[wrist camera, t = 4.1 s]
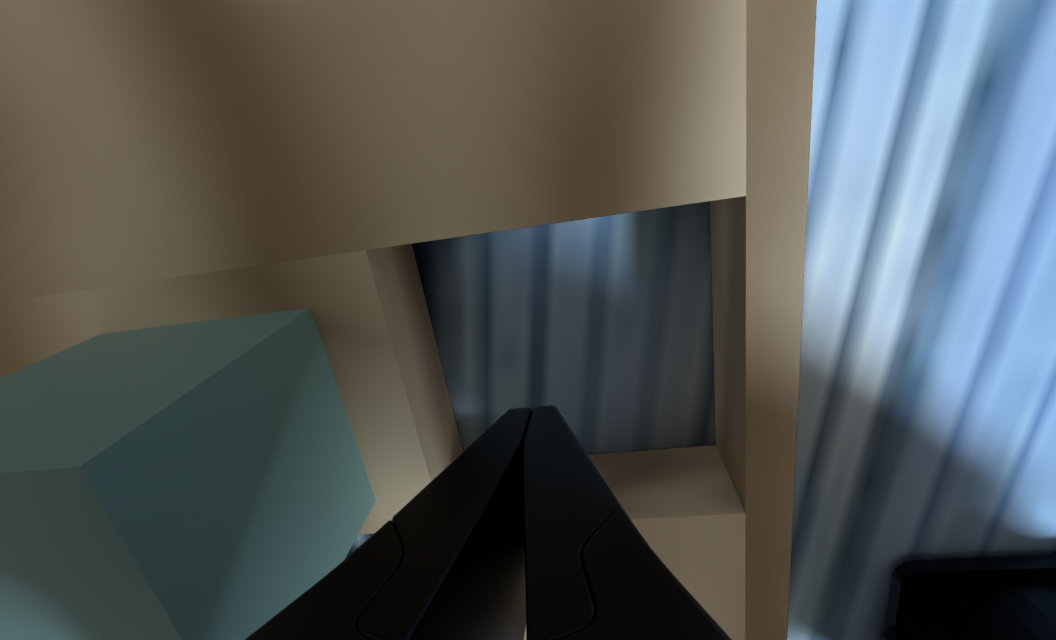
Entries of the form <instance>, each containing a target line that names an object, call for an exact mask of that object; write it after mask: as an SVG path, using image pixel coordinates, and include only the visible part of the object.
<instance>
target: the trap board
mask: <svg viewBox="0 0 1056 640" xmlns="http://www.w3.org/2000/svg"><path fill="white" fill-rule="evenodd" d="M816 5H817V0H0V378H2V377H4V376H7V375H9V374H11V373H13V372H16V371H18V370H20V369H22V368H25V367H27V366H29V365H32V364H34V363H36V362H38V361H41V360H43V359H45V358H47V357H50V356H52V355H54V354H56V353H59V352H61V351H63V350H66V349H68V348H70V347H72V346H75V345H77V344H79V343H81V342H84V341H86V340H88V339H90V338H93V337H95V336H97V335H99V334H106V333H113V332H121V331H129V330H137V329H145V328H153V327H161V326H169V325H177V324H184V323H192V322H200V321H208V320H216V319H224V318H232V317H240V316H248V315H255V314H263V313H271V312H279V311H287V310H295V309H303V308H311V311H312V314H313V317H314V320H315V323H316V326H317V329H318V332H319V335H320V338H321V341H322V344H323V347H324V350H325V353H326V355H327V358H328V361H329V364H330V367H331V370H332V373H333V376H334V379H335V382H336V385H337V388H338V391H339V394H340V397H341V400H342V403H343V405H344V408H345V411H346V414H347V417H348V420H349V423H350V426H351V429H352V432H353V435H354V438H355V441H356V444H357V447H358V450H359V453H360V455H361V458H362V461H363V464H364V467H365V470H366V473H367V476H368V479H369V482H370V485H371V488H372V491H373V494H374V497H375V500H376V502H375V503H374V505H373V507H372V509H371V511H370V513H369V515H368V517H367V518H366V520H365V522H364V524H363V526H362V528H361V530H360V532H359V534H370V533H376V532H377V531H378V530H379V529H380V528H381V527H382V526H383V525H384V524H385V523H386V522H388V521H389V520H391V521H392V517H393V516H394V515H395V514H396V513H397V512H399V511H400V510H401V509H402V508H403V507H404V506H405V505H406V504H407V503H408V502H409V501H411V500H412V499H413V498H414V497H415V496H416V495H417V494H418V493H419V492H420V491H421V490H422V489H424V488H425V487H426V486H427V485H428V484H429V483H430V482H431V481H432V480H433V479H434V478H435V477H437V476H438V475H439V474H440V473H441V472H442V471H443V470H444V469H445V468H446V467H447V466H448V465H450V464H451V463H452V462H453V461H454V460H455V459H456V458H457V457H458V456H459V455H460V454H461V453H463V449H462V445H461V441H460V437H459V433H458V429H457V425H456V421H455V417H454V412H453V408H452V404H451V400H450V396H449V392H448V388H447V384H446V380H445V376H444V372H443V368H442V364H441V360H440V356H439V352H438V348H437V344H436V340H435V336H434V332H433V328H432V324H431V320H430V316H429V312H428V308H427V304H426V300H425V296H424V291H423V287H422V283H421V279H420V275H419V271H418V267H417V263H416V259H415V255H414V251H413V247H412V243H419V242H426V241H433V240H440V239H447V238H454V237H461V236H468V235H475V234H482V233H489V232H496V231H503V230H511V229H518V228H525V227H532V226H539V225H546V224H553V223H560V222H567V221H574V220H581V219H588V218H595V217H602V216H609V215H616V214H623V213H630V212H637V211H644V210H651V209H658V208H665V207H672V206H679V205H686V204H693V203H700V202H707V201H710V227H711V268H712V309H713V351H714V392H715V433H716V445H710V446H697V447H683V448H670V449H656V450H642V451H629V452H615V453H601V454H588V456H589V458H590V459H591V461H592V462H593V464H594V465H595V467H596V468H597V470H598V471H599V473H600V474H601V476H602V477H603V479H604V480H605V482H606V483H607V485H608V486H609V488H610V490H611V491H612V493H613V494H614V496H615V497H616V499H617V500H618V502H619V503H620V505H621V507H622V508H623V509H624V510H625V512H626V513H627V515H628V516H629V518H630V519H631V521H632V522H633V524H634V525H635V527H636V528H637V529H638V531H639V532H640V534H641V535H642V536H643V538H644V539H645V541H646V542H647V543H648V545H649V546H650V547H651V549H652V550H653V551H654V552H655V553H656V555H657V556H658V557H659V558H660V559H661V561H662V562H663V563H664V564H665V565H666V566H667V568H668V569H669V570H670V571H671V572H672V574H673V575H674V576H675V577H676V578H677V579H678V580H679V581H680V583H681V584H682V585H683V586H684V587H685V588H686V589H687V590H688V591H689V593H690V594H691V595H692V596H693V597H694V598H695V599H696V600H697V601H698V602H699V604H700V605H701V606H702V607H703V608H704V609H705V610H706V611H707V612H708V614H709V615H710V616H711V617H712V618H713V619H714V620H715V621H716V622H717V624H718V625H719V626H720V627H721V628H722V629H723V630H724V631H725V632H726V634H727V635H728V636H729V637H730V638H731V639H732V640H787V630H788V609H789V587H790V566H791V544H792V522H793V501H794V479H795V458H796V436H797V415H798V393H799V371H800V350H801V328H802V307H803V285H804V263H805V242H806V220H807V199H808V177H809V156H810V134H811V112H812V91H813V69H814V48H815V26H816ZM524 640H526V628H525V635H524Z"/></svg>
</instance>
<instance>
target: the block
mask: <svg viewBox="0 0 1056 640" xmlns="http://www.w3.org/2000/svg"><path fill="white" fill-rule="evenodd" d="M375 502H376V500H375V497H374V494H373V491H372V488H371V485H370V482H369V479H368V476H367V473H366V470H365V467H364V464H363V461H362V458H361V455H360V453H359V450H358V447H357V444H356V441H355V438H354V435H353V432H352V429H351V426H350V423H349V420H348V417H347V414H346V411H345V408H344V405H343V403H342V400H341V397H340V394H339V391H338V388H337V385H336V382H335V379H334V376H333V373H332V370H331V367H330V364H329V361H328V358H327V355H326V353H325V350H324V347H323V344H322V341H321V338H320V335H319V332H318V329H317V326H316V323H315V320H314V317H313V314H312V311H311V308H303V309H295V310H287V311H279V312H271V313H263V314H255V315H248V316H240V317H232V318H224V319H216V320H208V321H200V322H192V323H184V324H177V325H169V326H161V327H153V328H145V329H137V330H129V331H121V332H113V333H106V334H99V335H97V336H95V337H93V338H90V339H88V340H86V341H84V342H81V343H79V344H77V345H75V346H72V347H70V348H68V349H66V350H63V351H61V352H59V353H56V354H54V355H52V356H50V357H47V358H45V359H43V360H41V361H38V362H36V363H34V364H32V365H29V366H27V367H25V368H22V369H20V370H18V371H16V372H13V373H11V374H9V375H7V376H4V377H2V378H0V640H245V639H246V638H247V637H249V636H250V635H251V634H252V633H254V632H255V631H256V630H257V629H259V628H260V627H261V626H262V625H264V624H265V623H266V622H268V621H269V620H270V619H271V618H273V617H274V616H275V615H276V614H278V613H279V612H280V611H282V610H283V609H284V608H285V607H287V606H288V605H289V604H290V603H292V602H293V601H294V600H296V599H297V598H298V597H299V596H301V595H302V594H303V593H304V592H306V591H307V590H308V589H310V588H311V587H312V586H313V585H315V584H316V583H317V582H318V581H319V580H321V579H322V578H323V577H324V576H326V575H327V574H328V573H329V572H330V571H332V570H333V569H334V568H335V567H337V566H338V565H339V564H340V563H341V562H343V561H344V560H345V558H346V556H347V554H348V552H349V550H350V549H351V547H352V545H353V543H354V541H355V539H356V537H357V535H358V534H359V532H360V530H361V528H362V526H363V524H364V522H365V520H366V518H367V517H368V515H369V513H370V511H371V509H372V507H373V505H374V503H375Z"/></svg>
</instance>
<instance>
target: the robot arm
mask: <svg viewBox="0 0 1056 640" xmlns="http://www.w3.org/2000/svg"><path fill="white" fill-rule="evenodd" d="M525 628H526V640H732V639H731V638H730V637H729V636H728V635H727V634H726V632H725V631H724V630H723V629H722V628H721V627H720V626H719V625H718V624H717V622H716V621H715V620H714V619H713V618H712V617H711V616H710V615H709V614H708V612H707V611H706V610H705V609H704V608H703V607H702V606H701V605H700V604H699V602H698V601H697V600H696V599H695V598H694V597H693V596H692V595H691V594H690V593H689V591H688V590H687V589H686V588H685V587H684V586H683V585H682V584H681V583H680V581H679V580H678V579H677V578H676V577H675V576H674V575H673V574H672V572H671V571H670V570H669V569H668V568H667V566H666V565H665V564H664V563H663V562H662V561H661V559H660V558H659V557H658V556H657V555H656V553H655V552H654V551H653V550H652V549H651V547H650V546H649V545H648V543H647V542H646V541H645V539H644V538H643V536H642V535H641V534H640V532H639V531H638V529H637V528H636V527H635V525H634V524H633V522H632V521H631V519H630V518H629V516H628V515H627V513H626V512H625V510H624V509H623V508H622V507H621V505H620V503H619V502H618V500H617V499H616V497H615V496H614V494H613V493H612V491H611V490H610V488H609V486H608V485H607V483H606V482H605V480H604V479H603V477H602V476H601V474H600V473H599V471H598V470H597V468H596V467H595V465H594V464H593V462H592V461H591V459H590V458H589V456H588V455H587V453H586V452H585V450H584V449H583V447H582V446H581V444H580V443H579V441H578V440H577V438H576V437H575V435H574V433H573V432H572V430H571V429H570V427H569V426H568V424H567V423H566V421H565V420H564V418H563V417H562V415H561V414H560V412H559V411H558V409H557V408H556V407H555V406H553V405H550V406H538V407H534V408H533V409H531V408H528V407H526V408H514V409H510V410H508V411H507V412H506V413H505V414H504V415H503V416H501V417H500V418H499V419H498V420H497V421H496V422H495V423H494V424H493V425H492V426H491V427H490V428H488V429H487V430H486V431H485V432H484V433H483V434H482V435H481V436H480V437H479V438H478V439H477V440H475V441H474V442H473V443H472V444H471V445H470V446H469V447H468V448H467V449H466V450H465V451H464V452H463V453H461V454H460V455H459V456H458V457H457V458H456V459H455V460H454V461H453V462H452V463H451V464H450V465H448V466H447V467H446V468H445V469H444V470H443V471H442V472H441V473H440V474H439V475H438V476H437V477H435V478H434V479H433V480H432V481H431V482H430V483H429V484H428V485H427V486H426V487H425V488H424V489H422V490H421V491H420V492H419V493H418V494H417V495H416V496H415V497H414V498H413V499H412V500H411V501H409V502H408V503H407V504H406V505H405V506H404V507H403V508H402V509H401V510H400V511H399V512H397V513H396V514H395V515H394V516H393V517H392V521H391V520H389V521H388V522H386V523H385V524H384V525H383V526H382V527H381V528H380V529H379V530H378V531H377V532H376V533H375V534H373V535H372V536H371V537H370V538H369V539H368V540H367V541H366V542H364V543H363V544H362V545H361V546H360V547H359V548H358V549H356V550H355V551H354V552H353V553H352V554H351V555H350V556H349V557H347V558H346V559H345V560H344V561H343V562H341V563H340V564H339V565H338V566H337V567H335V568H334V569H333V570H332V571H330V572H329V573H328V574H327V575H326V576H324V577H323V578H322V579H321V580H319V581H318V582H317V583H316V584H315V585H313V586H312V587H311V588H310V589H308V590H307V591H306V592H304V593H303V594H302V595H301V596H299V597H298V598H297V599H296V600H294V601H293V602H292V603H290V604H289V605H288V606H287V607H285V608H284V609H283V610H282V611H280V612H279V613H278V614H276V615H275V616H274V617H273V618H271V619H270V620H269V621H268V622H266V623H265V624H264V625H262V626H261V627H260V628H259V629H257V630H256V631H255V632H254V633H252V634H251V635H250V636H249V637H247V638H246V639H245V640H524V635H525ZM880 640H1056V555H1035V556H1009V557H983V558H957V559H931V560H912V561H906V562H904V563H902V564H900V565H898V566H897V567H896V568H895V569H894V572H893V574H892V581H891V587H890V594H889V601H888V608H887V614H886V621H885V627H884V629H883V631H882V633H881V637H880Z"/></svg>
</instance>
